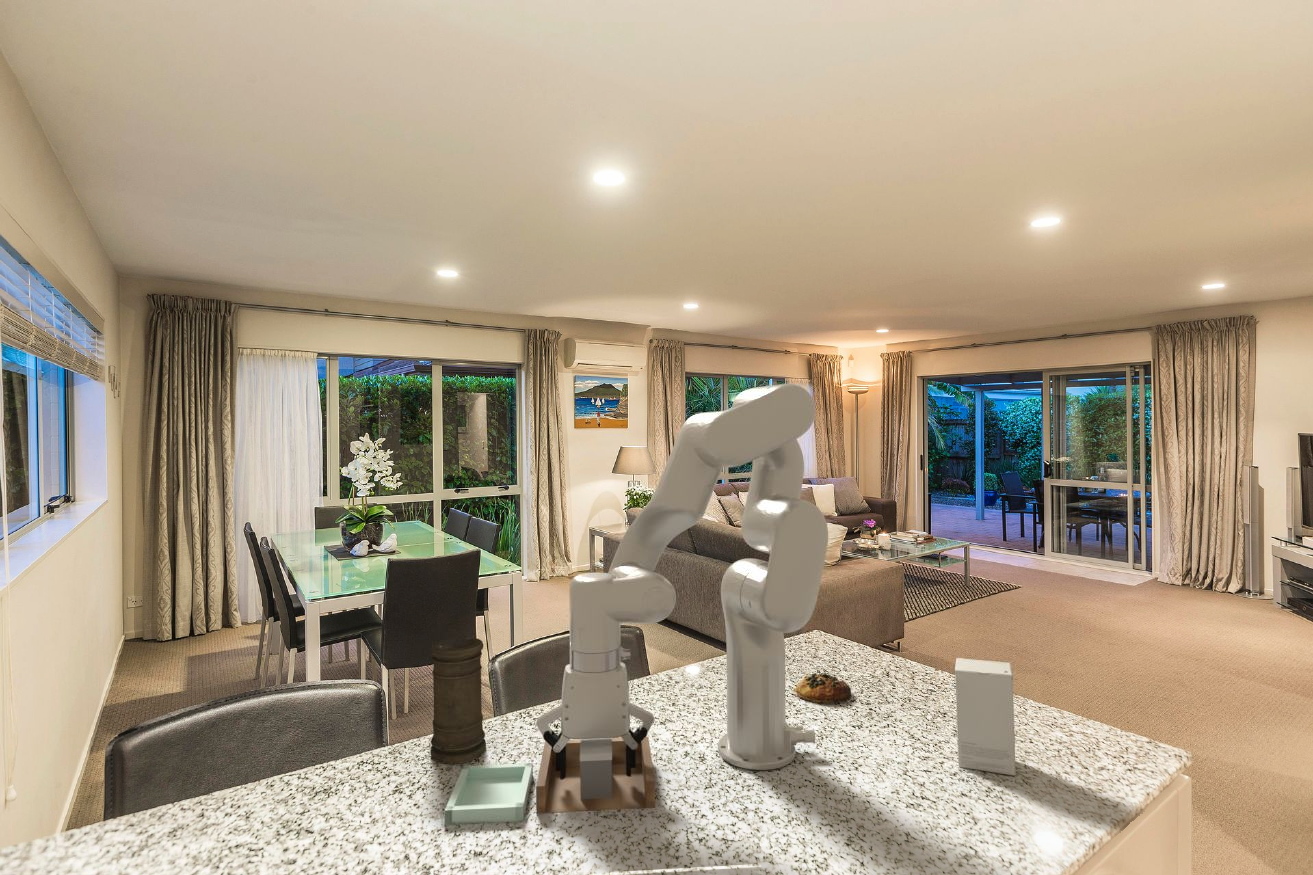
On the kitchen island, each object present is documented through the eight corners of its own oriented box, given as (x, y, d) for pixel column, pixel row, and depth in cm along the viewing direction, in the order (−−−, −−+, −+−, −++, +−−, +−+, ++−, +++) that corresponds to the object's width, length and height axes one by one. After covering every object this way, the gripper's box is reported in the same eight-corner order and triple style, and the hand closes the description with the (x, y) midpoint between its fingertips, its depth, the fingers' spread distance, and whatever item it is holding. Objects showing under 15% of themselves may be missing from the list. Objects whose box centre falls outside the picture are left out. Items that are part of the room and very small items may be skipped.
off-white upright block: (611, 773, 106) (611, 731, 105) (612, 798, 98) (612, 752, 98) (581, 775, 105) (581, 732, 105) (580, 799, 98) (579, 754, 98)
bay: (648, 761, 110) (648, 736, 110) (654, 809, 96) (654, 780, 96) (545, 765, 109) (545, 740, 109) (536, 815, 95) (536, 786, 95)
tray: (532, 777, 105) (532, 762, 105) (523, 822, 93) (522, 806, 93) (463, 780, 104) (463, 765, 104) (444, 826, 92) (444, 810, 92)
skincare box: (1014, 759, 110) (1013, 662, 109) (1016, 778, 104) (1015, 675, 103) (956, 750, 113) (956, 655, 113) (955, 767, 107) (954, 668, 107)
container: (471, 766, 109) (470, 653, 109) (419, 762, 111) (418, 650, 110) (495, 742, 118) (494, 636, 117) (447, 737, 119) (446, 634, 119)
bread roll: (858, 704, 132) (854, 678, 132) (801, 712, 132) (797, 686, 133) (844, 685, 143) (840, 661, 144) (791, 693, 144) (787, 669, 144)
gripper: (651, 648, 106) (652, 759, 106) (538, 651, 105) (539, 763, 105) (655, 664, 99) (656, 783, 99) (533, 668, 97) (534, 789, 97)
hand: (596, 773), depth 102 cm, fingers open, 9 cm apart
